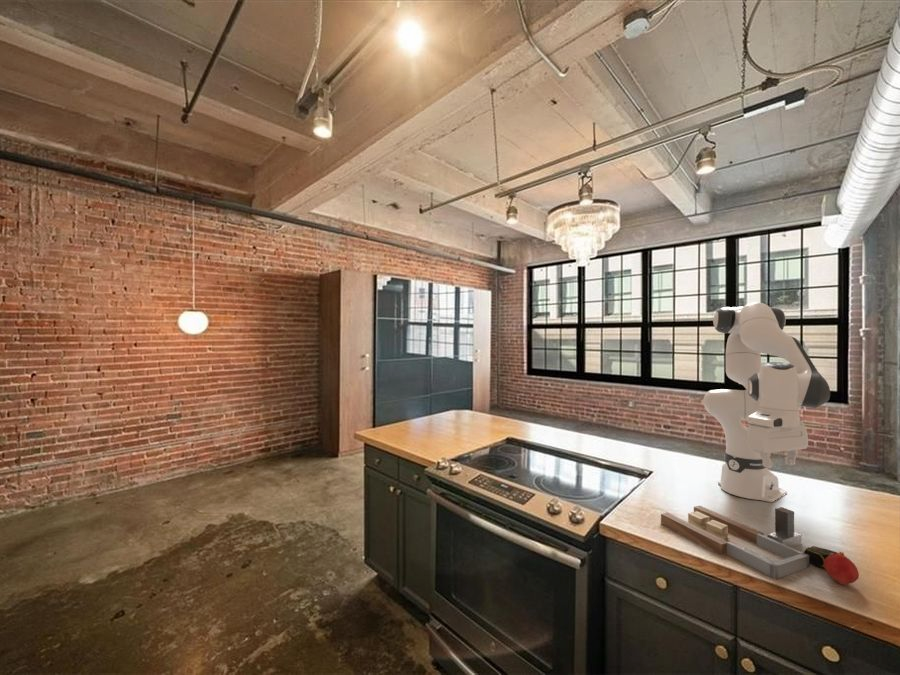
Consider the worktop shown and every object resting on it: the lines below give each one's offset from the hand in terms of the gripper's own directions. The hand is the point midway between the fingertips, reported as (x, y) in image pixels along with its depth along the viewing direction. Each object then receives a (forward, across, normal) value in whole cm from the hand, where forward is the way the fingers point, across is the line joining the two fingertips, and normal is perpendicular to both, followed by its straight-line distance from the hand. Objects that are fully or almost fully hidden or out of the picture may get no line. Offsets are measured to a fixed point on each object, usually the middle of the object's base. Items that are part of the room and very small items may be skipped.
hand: (779, 465), depth 107 cm
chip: (+23, +13, -9) cm, 28 cm away
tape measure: (+23, -3, +12) cm, 26 cm away
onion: (+24, +5, +16) cm, 29 cm away
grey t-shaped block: (+23, -1, +1) cm, 23 cm away
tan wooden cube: (+23, +13, -15) cm, 30 cm away
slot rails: (+23, +12, -11) cm, 28 cm away
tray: (+23, +12, +4) cm, 26 cm away
